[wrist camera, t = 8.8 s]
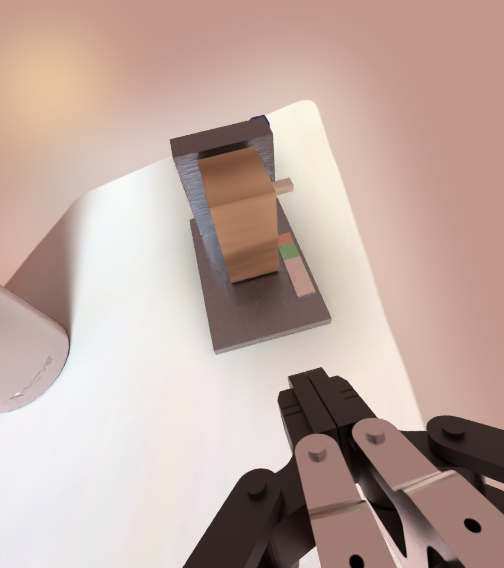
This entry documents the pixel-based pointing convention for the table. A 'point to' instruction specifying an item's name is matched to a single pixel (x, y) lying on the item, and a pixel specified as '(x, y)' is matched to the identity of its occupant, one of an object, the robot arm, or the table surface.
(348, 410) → the robot arm
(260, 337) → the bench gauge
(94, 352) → the table surface
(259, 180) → the block
